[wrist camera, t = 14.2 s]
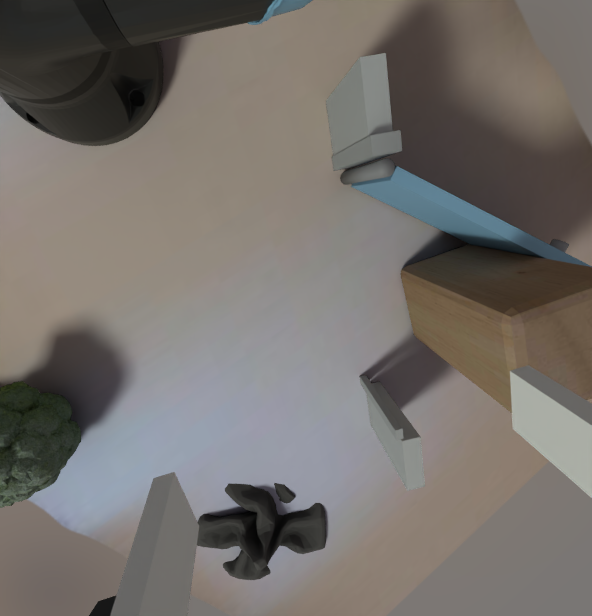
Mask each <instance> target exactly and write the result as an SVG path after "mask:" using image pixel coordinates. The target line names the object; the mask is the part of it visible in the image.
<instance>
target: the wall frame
mask: <svg viewBox="0 0 592 616" xmlns="http://www.w3.org/2000/svg"><path fill="white" fill-rule="evenodd" d="M326 106H327V113H328V121H329V128H330V135H331V142H332V149H333V156H332V162H333V169H334V171H336V170H341V169H347V168H352V167H356V166H359V165H362V164H365V163H368V162H371V161H374V160H377V159H380V158H383V157H386V156H389V155H392V154H395V153H398V152H401V151H402V142H401V130H398V131H393V128H392V117H391V106H390V95H389V84H388V73H387V62H386V53H382V54H376V55H370V56H364V57H360V58H359V59H358V60H357V62H356V63H355V64H354V65H353V67H352V68H351V69H350V71H349V72H348V73H347V74H346V76H345V77H344V78H343V80H342V81H341V82H340V84H339V85H338V86H337V87H336V89H335V90H334V91H333V93H332V94H331V95H330V96H329V98H328V99H327V100H326ZM360 383H361V385H362V387H363V389H364V390H365V392H366V394H367V401H368V408H369V415H370V423H371V427H372V428H373V430H374V432H375V434H376V435H377V437H378V439H379V441H380V443H381V444H382V446H383V448H384V450H385V452H386V453H387V455H388V457H389V459H390V461H391V462H392V464H393V466H394V468H395V469H396V471H397V473H398V475H399V477H400V478H401V480H402V482H403V484H404V486H405V487H406V489H407V491H409V490H413V489H416V488H420V487H424V486H425V481H424V470H423V459H422V448H421V437H420V435H419V434H418V433H417V431H416V430H415V429H414V427H413V426H412V425H411V423H410V422H409V421H408V419H407V418H406V417H405V415H404V414H403V413H402V411H401V410H400V409H399V407H398V406H397V405H396V403H395V402H394V401H393V399H392V398H391V397H390V395H389V394H388V392H387V391H386V390H385V388H384V387H383V386H382V384H381V383H380V382H376V383H372V384H371V382H370V381H369V379H368V378H367V377H366V375H363V376H360Z"/></svg>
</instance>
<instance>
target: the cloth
mask: <svg viewBox="0 0 592 616" xmlns="http://www.w3.org/2000/svg"><path fill="white" fill-rule="evenodd" d="M274 485H275V488H276V492H277V494H278V496H279V497H280V501H282V502H284V503H290V502H291V501H292V500H293V499H294V498H295V497H296V496H295V495H294V494H292V493H291V492H290V491H289V489H288V488H287V487H286V486H285V485H282V484H277V483H275V484H274ZM225 492H226V493H227V494H228V495H229V496H230V497H231V498H232V499H233V500H234V501H235V502H236V503H237V504H238V505H240V506H241V507H243V508H244V509H246V510H249V511H252V512H249V513H243V514H237V515H230V516H225V517H216V516H212V515H209V514H203V515H202V516H200V518H199V521H198V525H199V532H198V539H197V545H198V546H202V547H210V548H219V549H227V548H230V547H233V546H240V548H241V549H242V550H241V552H240V554H239V556H238V557H237V558H236V559H235V560H233V561H229V562H225V563H224V564H223V568H224V569H225V570H226V571H227V572H228V573H229V575H231V576H233V577H235V578H238V579H246V580H256V579H261V578H262V577H264V576H266V575H268V574H270V569H269V568H268V566H267V565H268V562H269V560H270V559H271V557H272V555H273V554H274V553H275V551H276V550H277V548H278V547H279V545H281V546H286V547H288V548H289V549H291V550H293V551H294V552H297V553H300V554H305V553H309V552H313V551H316V550H321V549H323V548H325V542H326V531H325V511H324V508H323V505H322V504H320V503H315V504H314V505H313V506H311V507H310V508H309V509H306V510H304V511H299V512H293V513H288V514H285V515H283V516H282V515H278V513H277V510H276V504H275V502H274V499H273V497H272V496H271V495H270V493H269V492H268V491H265V490H263V489H259V488H255V487H253V486H252V485H246V484H228V486H227V487H226V488H225Z"/></svg>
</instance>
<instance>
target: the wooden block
mask: <svg viewBox="0 0 592 616" xmlns="http://www.w3.org/2000/svg"><path fill="white" fill-rule="evenodd" d="M401 279H402V283H403V288H404V292H405V296H406V301H407V305H408V310H409V314H410V319H411V323H412V328H413V332H414V335H415V336H416V337H417V339H419V340H420V341H421V342H423V343H424V344H425V345H426V346H428V347H429V348H430V349H431V350H433V351H434V352H435V353H436V354H438V355H439V356H440V357H441V358H443V359H444V360H445V361H447V362H448V363H449V364H450V365H452V366H453V367H454V368H455V369H457V370H458V371H459V372H460V373H462V374H463V375H464V376H465V377H467V378H468V379H469V380H471V381H472V382H473V383H474V384H476V385H477V386H478V387H479V388H481V389H482V390H483V391H484V392H486V393H487V394H488V395H490V396H491V397H492V398H493V399H495V400H496V401H497V402H498V403H500V404H501V405H502V406H503V407H505V408H506V409H507V410H508V411H510V412H511V413H512V403H511V383H510V371H511V370H514V369H518V368H521V367H524V366H528V365H529V366H530V367H532V368H534V369H535V370H537V371H539V372H540V373H542V374H544V375H545V376H547V377H549V378H550V379H552V380H554V381H555V382H557V383H559V384H560V385H562V386H564V387H565V388H567V389H569V390H570V391H572V392H573V393H575V394H577V395H578V396H580V397H582V398H583V399H585V400H588V399H591V398H592V267H589V266H584V265H578V264H573V263H567V262H562V261H557V260H551V259H546V258H540V257H535V256H529V255H524V254H518V253H513V252H508V251H502V250H497V249H491V248H486V247H481V246H475V245H466V246H464V247H461V248H458V249H455V250H452V251H449V252H446V253H443V254H440V255H437V256H434V257H431V258H429V259H426V260H423V261H420V262H417V263H414V264H411V265H408V266H406V267H405V268H403V269H402V270H401Z"/></svg>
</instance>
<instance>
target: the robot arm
mask: <svg viewBox="0 0 592 616" xmlns="http://www.w3.org/2000/svg"><path fill="white" fill-rule="evenodd" d="M311 1H312V0H0V96H1V97H2V98H3V99H4V101H5V102H6V103H7V104H8V105H9V106H10V107H11V108H12V109H13V110H14V111H15V112H16V113H17V114H18V115H20V116H21V117H22V118H23V119H24V120H26V121H27V122H29V123H30V124H31V125H33V126H35V127H36V128H38V129H40V130H41V131H43V132H45V133H47V134H49V135H52V136H54V137H57V138H60V139H63V140H65V141H68V142H72V143H76V144H81V145H88V146H100V145H108V144H113V143H116V142H119V141H121V140H124V139H126V138H128V137H129V136H131V135H133V134H134V133H135V132H137V131H138V130H139V129H140V128H141V127H142V126H143V125H144V124H145V123H146V122H147V121H148V119H149V118H150V117H151V115H152V113H153V112H154V110H155V108H156V106H157V103H158V100H159V98H160V94H161V89H162V83H163V60H162V54H161V49H160V45H159V42H158V41H163V40H167V39H172V38H177V37H182V36H186V35H191V34H196V33H200V32H205V31H210V30H215V29H219V28H224V27H229V26H234V25H238V24H243V23H248V24H251V25H257V24H261V23H262V22H264V21H267V20H268V19H269V18H270V17H272V16H276V15H279V14H283V13H287V12H290V11H294V10H297V9H301V8H303V7H305V5H307V4H308V3H310V2H311ZM510 383H511V403H512V423H513V429H514V430H515V431H516V432H517V433H518V434H520V435H521V436H522V437H523V438H524V439H525V440H526V441H527V442H529V443H530V444H531V445H532V446H533V447H534V448H535V449H537V450H538V451H539V452H540V453H541V454H542V455H543V456H545V457H546V458H547V459H548V460H549V461H550V462H551V463H553V464H554V465H555V466H556V467H557V468H558V469H560V470H561V471H562V472H563V473H564V474H565V475H566V476H567V477H569V478H570V479H571V480H572V481H573V482H574V483H575V484H577V485H578V486H579V487H580V488H581V489H582V490H583V491H585V492H586V493H587V494H588V495H589V496H590V497H591V498H592V403H590V402H588V401H587V400H585V399H583V398H582V397H580V396H578V395H577V394H575V393H573V392H572V391H570V390H569V389H567V388H565V387H564V386H562V385H560V384H559V383H557V382H555V381H554V380H552V379H550V378H549V377H547V376H545V375H544V374H542V373H540V372H539V371H537V370H535V369H534V368H532V367H530V366H529V365H528V366H524V367H521V368H518V369H514V370H511V371H510ZM198 532H199V525H198V522H197V520H196V518H195V516H194V514H193V512H192V509H191V507H190V505H189V503H188V501H187V499H186V496H185V494H184V492H183V490H182V488H181V486H180V483H179V481H178V479H177V477H176V475H175V472H173V473H170V474H166V475H163V476H160V477H156V478H154V479H153V482H152V485H151V488H150V491H149V495H148V498H147V501H146V504H145V507H144V510H143V514H142V517H141V520H140V523H139V526H138V529H137V532H136V536H135V539H134V542H133V545H132V548H131V551H130V555H129V558H128V561H127V564H126V567H125V570H124V574H123V577H122V580H121V583H120V586H119V589H118V593H117V596H113V597H110V598H107V599H104V600H101V601H98V603H97V604H96V606H95V607H94V609H93V610H92V612H91V613H90V615H89V616H187V614H188V606H189V599H190V591H191V584H192V576H193V569H194V562H195V554H196V547H197V539H198Z"/></svg>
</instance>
